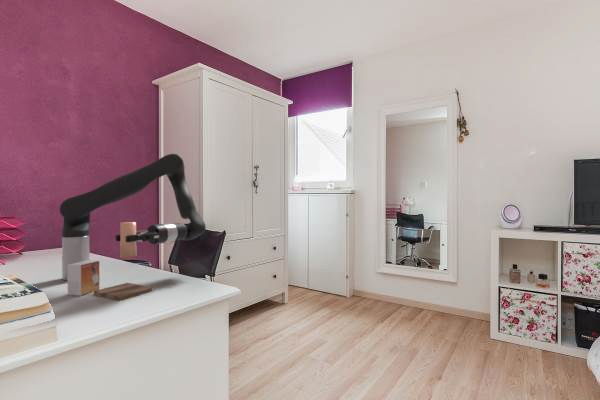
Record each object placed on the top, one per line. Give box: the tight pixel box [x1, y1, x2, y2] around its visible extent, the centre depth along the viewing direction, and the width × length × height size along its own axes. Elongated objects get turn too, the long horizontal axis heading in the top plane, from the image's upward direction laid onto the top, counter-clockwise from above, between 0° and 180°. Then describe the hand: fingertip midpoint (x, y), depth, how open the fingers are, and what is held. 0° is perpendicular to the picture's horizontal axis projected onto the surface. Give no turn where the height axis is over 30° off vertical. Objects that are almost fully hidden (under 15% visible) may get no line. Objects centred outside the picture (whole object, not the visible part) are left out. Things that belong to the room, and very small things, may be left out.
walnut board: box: [93, 282, 153, 302], centre depth 112 cm, size 14×12×1 cm
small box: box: [67, 260, 100, 297], centre depth 113 cm, size 8×6×10 cm
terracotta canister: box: [119, 221, 137, 259], centre depth 114 cm, size 5×5×12 cm
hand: (121, 238), depth 112 cm, fingers closed on terracotta canister, 5 cm apart
